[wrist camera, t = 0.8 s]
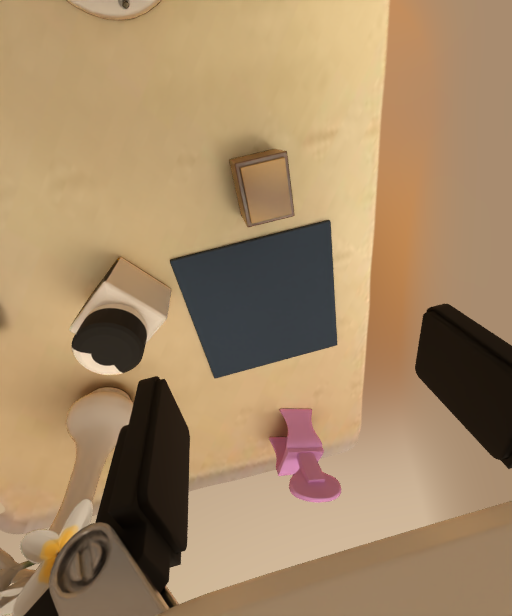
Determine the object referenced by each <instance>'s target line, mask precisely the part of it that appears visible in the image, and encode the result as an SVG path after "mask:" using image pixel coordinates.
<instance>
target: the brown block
mask: <svg viewBox="0 0 512 616" xmlns="http://www.w3.org/2000/svg"><path fill="white" fill-rule="evenodd" d="M229 162H230V166H231V171H232V176H233V180H234V185H235V189H236V194H237V198H238V203H239V208H240V212H241V216H242V218H243V220H244V221H245V223H246V225H247V227H251V226H255V225H260V224H264V223H268V222H272V221H276V220H280V219H284V218H288V217H292V216H294V206H293V198H292V190H291V181H290V173H289V165H288V156H287V151H282V150H277V149H271V150H267V151H263V152H259V153H255V154H250V155H246V156H242V157H238V158H233V159H230V160H229Z"/></svg>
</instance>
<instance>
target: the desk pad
mask: <svg viewBox="0 0 512 616" xmlns="http://www.w3.org/2000/svg"><path fill="white" fill-rule="evenodd" d="M170 263H171V266H172V268H173V271H174V273H175V276H176V279H177V281H178V284H179V287H180V289H181V292H182V294H183V297H184V300H185V302H186V305H187V308H188V310H189V313H190V315H191V318H192V321H193V323H194V326H195V328H196V331H197V334H198V336H199V339H200V342H201V344H202V347H203V349H204V352H205V355H206V357H207V360H208V363H209V365H210V368H211V370H212V373H213V376H214V378H219V377H222V376H226V375H230V374H233V373H237V372H241V371H244V370H248V369H252V368H255V367H259V366H262V365H266V364H270V363H273V362H277V361H281V360H284V359H288V358H292V357H295V356H299V355H303V354H306V353H310V352H314V351H317V350H321V349H325V348H328V347H332V346H336V345H337V332H336V314H335V295H334V277H333V259H332V240H331V222H330V221H329V220H327V221H323V222H319V223H315V224H311V225H307V226H303V227H299V228H295V229H291V230H287V231H283V232H279V233H275V234H271V235H267V236H263V237H259V238H255V239H251V240H247V241H243V242H239V243H235V244H231V245H227V246H223V247H219V248H215V249H211V250H207V251H203V252H199V253H195V254H191V255H187V256H184V257H180V258H176V259H172V260H170Z"/></svg>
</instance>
